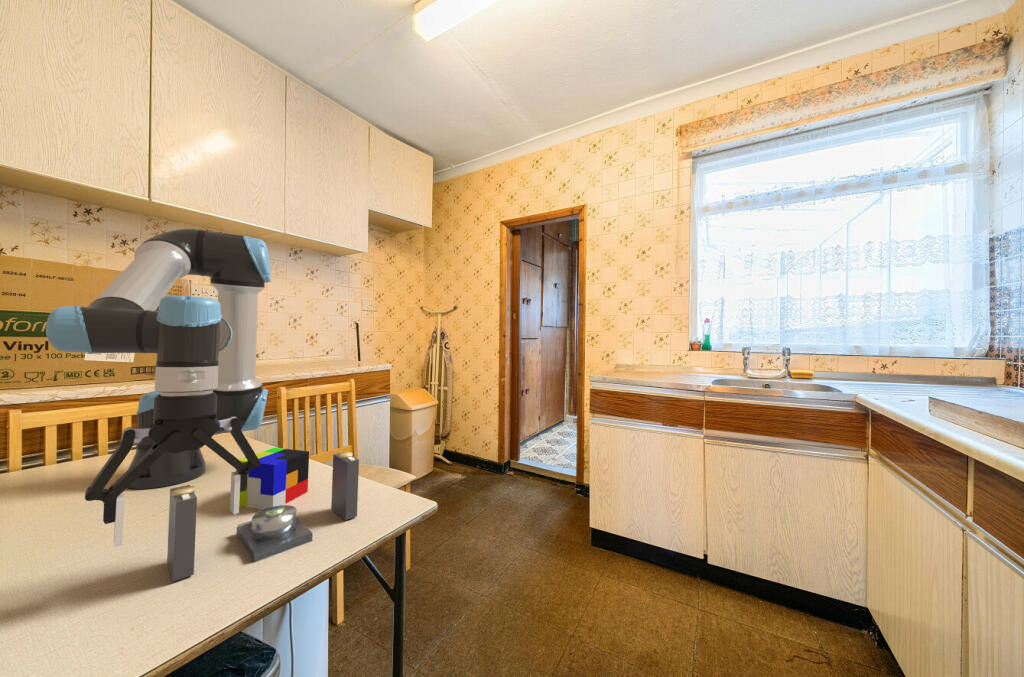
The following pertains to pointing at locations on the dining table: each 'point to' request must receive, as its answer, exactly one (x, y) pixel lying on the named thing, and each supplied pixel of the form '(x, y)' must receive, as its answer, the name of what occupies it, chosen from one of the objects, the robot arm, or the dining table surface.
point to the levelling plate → (275, 543)
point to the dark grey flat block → (181, 532)
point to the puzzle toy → (276, 478)
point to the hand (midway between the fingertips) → (181, 525)
